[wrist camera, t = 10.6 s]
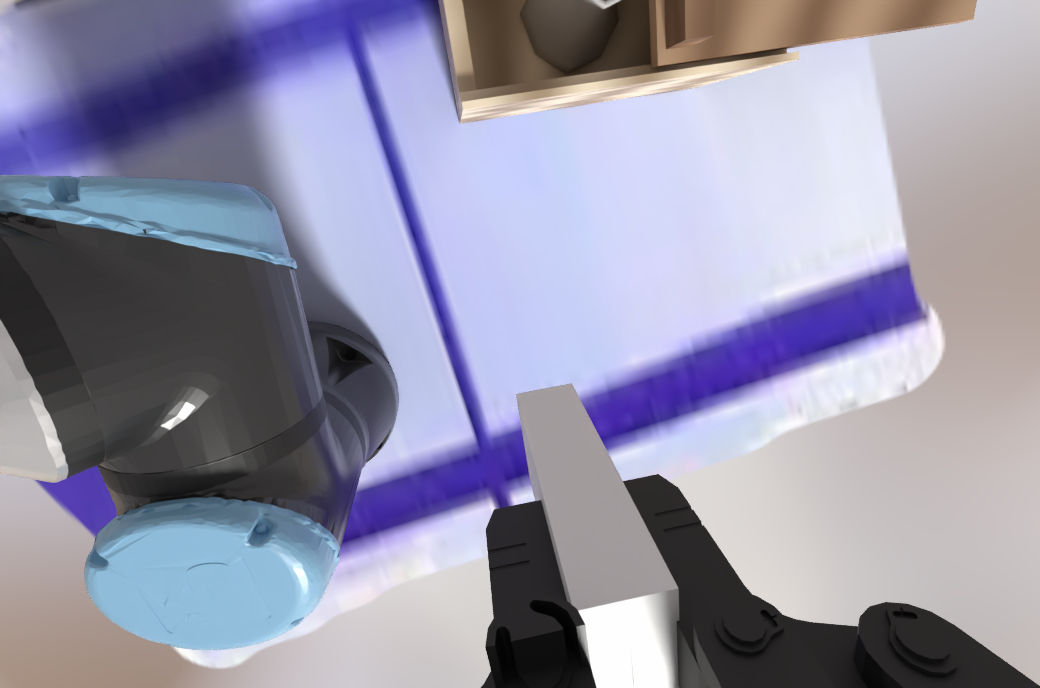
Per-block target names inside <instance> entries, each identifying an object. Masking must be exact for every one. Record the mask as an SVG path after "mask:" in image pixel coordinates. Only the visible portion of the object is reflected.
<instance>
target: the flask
mask: <svg viewBox="0 0 1040 688" xmlns="http://www.w3.org/2000/svg"><path fill="white" fill-rule="evenodd" d="M619 1H621V0H526V1H525V4H524V6H523V8H522V10H521V12H520V16H521V18H522V21H523V23H524V26H525V29H526V31H527V34H528V36H529V39H530V41H531V44H532V47H533V49H534V52H535V54H536V55H538V56H539V57H541V58H542V59H544V60H545V61H547V62H548V63H550V64H551V65H553V66H555V67H556V68H558V69H559V70H561V71H562V72H564V73H565V74H569V73H571V72H573V71H575V70H577V69H579V68H581V67H583V66H585V65H587V64H588V63H590V62H592V61H594V60H596V59H598V58H600V56H601V54H602V52H603V51H604V49H605V47H606V45H607V43H608V41H609V39H610V37H611V35H612V33H613V31H614V29H615V27H616V25H617V23H618V21H619V17H618V11H617V2H619Z"/></svg>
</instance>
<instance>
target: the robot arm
mask: <svg viewBox="0 0 1040 688" xmlns="http://www.w3.org/2000/svg"><path fill="white" fill-rule="evenodd" d="M294 269H297V264H296V261H295V260H294V259H293V258H291V257H290V253H289V250H288V247H287V243H286V240H285V236H284V233H283V229H282V226H281V223H280V219H279V216H278V213H277V211H276V209H275V207H274V205H273V204H272V202H271V201H270V200H269V199H268V198H267V197H266V196H265V195H264V194H262V193H261V192H259V191H258V190H256V189H254V188H252V187H249V186H246V185H242V184H236V183H226V182H216V181H201V180H184V179H163V178H137V177H100V176H83V177H71V176H38V175H0V474H6V475H12V476H18V477H23V478H29V479H35V480H41V481H46V482H52V483H54V482H59V481H61V480H64V479H66V478H69V477H71V476H73V475H76V474H78V473H80V472H82V471H85V470H87V469H89V468H92V467H94V466H96V465H97V466H98V469H99V471H100V473H101V475H102V477H103V479H104V481H105V483H106V486H107V489H108V491H109V493H110V495H111V497H112V499H113V501H114V503H115V506H116V509H117V517H115V518H114V519H112V520H111V521H110V522H109V523H108V524H107V525H106V526H105V527H103V528H102V529H101V530H100V532H99V533H98V534H97V536H96V538H95V542H94V546H93V549H92V551H91V552H90V554H89V555H88V558H87V560H86V563H85V570H84V578H85V584H86V589H87V591H88V593H89V595H90V597H91V599H92V601H93V602H94V604H95V605H96V606H97V607H98V608H99V609H100V610H101V612H102V613H103V614H104V615H105V616H106V617H107V618H109V619H110V620H111V621H113V622H114V623H115V624H117V625H118V626H120V627H122V628H123V629H125V630H127V631H129V632H131V633H133V634H135V635H137V636H140V637H142V638H144V639H147V640H150V641H153V642H159V643H165V644H168V645H171V646H174V647H178V648H185V649H193V650H224V649H234V648H241V647H246V646H251V645H255V644H259V643H262V642H265V641H268V640H271V639H273V638H276V637H278V636H280V635H282V634H284V633H286V632H288V631H289V630H291V629H292V628H294V627H295V626H297V625H298V624H299V623H300V622H301V621H302V620H303V619H304V617H306V616H307V615H308V614H309V613H311V612H312V611H313V610H314V609H315V608H316V606H317V605H318V604H319V602H320V600H321V599H322V597H323V595H324V592H325V590H326V587H327V585H328V583H329V580H330V578H331V576H332V574H333V572H334V570H335V568H336V566H337V564H338V561H339V558H340V553H339V550H340V547H341V543H342V540H343V536H344V532H345V529H346V525H347V521H348V518H349V514H350V510H351V507H352V503H353V499H354V496H355V492H356V489H357V485H358V481H359V478H360V474H361V470H362V468H363V467H364V466H365V464H366V463H367V462H368V461H369V460H371V459H372V458H373V457H374V456H375V455H376V454H377V453H378V452H379V451H380V450H381V449H382V447H383V446H384V445H385V443H386V442H387V440H388V438H389V436H390V434H391V432H392V430H393V427H394V424H395V420H396V415H397V411H398V404H399V394H398V387H397V382H396V379H395V376H394V374H393V371H392V369H391V367H390V366H389V364H388V362H387V361H386V360H385V358H384V357H383V356H382V354H381V353H380V352H379V351H378V350H377V349H376V348H375V347H374V346H373V345H372V344H370V343H369V342H368V341H366V340H365V339H363V338H362V337H360V336H359V335H357V334H355V333H353V332H351V331H349V330H347V329H344V328H341V327H338V326H335V325H331V324H326V323H319V322H307V320H306V316H305V312H304V308H303V304H302V299H301V295H300V291H299V287H298V283H297V279H296V275H295V271H294ZM516 397H517V403H518V409H519V415H520V421H521V427H522V433H523V439H524V445H525V451H526V457H527V463H528V469H529V475H530V480H531V485H532V489H533V493H534V497H535V501H534V502H529V503H524V504H519V505H514V506H509V507H504V508H500V509H495V510H494V511H493V514H492V516H491V518H490V521H489V523H488V526H487V528H486V537H487V548H488V559H489V569H490V581H491V592H492V604H493V614H494V619H493V621H492V623H491V624H490V626H489V628H488V632H487V640H486V651H487V655H488V659H489V663H490V667H491V672H490V674H489V676H488V678H487V679H486V681H485V683H484V685H483V686H482V687H481V688H1040V686H1039V685H1037V684H1036V683H1035V682H1033V681H1032V680H1030V679H1029V678H1028V677H1026V676H1025V675H1023V674H1022V673H1021V672H1019V671H1018V670H1016V669H1015V668H1014V667H1012V666H1011V665H1009V664H1008V663H1007V662H1005V661H1004V660H1002V659H1001V658H1000V657H998V656H997V655H995V654H994V653H992V652H991V651H990V650H988V649H987V648H986V647H984V646H983V645H982V644H980V643H979V642H977V641H976V640H975V639H973V638H972V637H970V636H969V635H967V634H966V633H965V632H963V631H962V630H960V629H959V628H958V627H956V626H955V625H953V624H951V623H950V622H948V621H946V620H944V619H943V618H941V617H939V616H937V615H936V614H934V613H932V612H930V611H927V610H924V609H921V608H918V607H915V606H912V605H909V604H903V603H889V602H885V603H881V604H877V605H874V606H870V607H869V608H868V609H867V610H866V611H865V612H864V613H863V614H862V615H861V616H860V619H859V624H858V627H857V626H846V625H835V624H824V623H813V622H807V621H801V620H796V619H793V618H790V617H787V616H784V615H782V614H781V613H780V612H779V611H778V610H777V609H776V608H775V607H774V606H773V605H771V604H769V603H768V602H766V601H764V600H762V599H761V598H759V597H757V596H755V595H752V594H751V593H750V591H749V590H748V589H747V588H746V587H745V586H744V584H743V583H742V581H741V580H740V579H739V577H738V575H737V574H736V573H735V571H734V569H733V568H732V566H731V565H730V563H729V562H728V561H727V559H726V558H725V556H724V555H723V553H722V552H721V550H720V549H719V547H718V546H717V544H716V543H715V541H714V540H713V538H712V537H711V535H710V534H709V532H708V531H707V529H706V528H705V527H704V526H702V524H701V521H700V519H699V518H698V516H697V515H696V513H695V512H694V510H692V509H691V506H690V505H689V503H688V501H687V500H686V499H685V497H684V496H683V494H682V493H681V491H680V490H679V489H678V487H676V486H675V485H673V484H672V483H670V482H669V481H668V480H666V479H665V478H663V477H662V476H660V475H659V474H657V475H652V476H647V477H642V478H637V479H633V480H628V481H622V479H621V477H620V475H619V473H618V471H617V469H616V468H615V466H614V464H613V462H612V460H611V458H610V456H609V454H608V452H607V450H606V448H605V446H604V445H603V443H602V441H601V439H600V437H599V435H598V433H597V431H596V429H595V427H594V425H593V423H592V422H591V420H590V418H589V416H588V414H587V412H586V410H585V408H584V406H583V404H582V402H581V400H580V398H579V397H578V395H577V393H576V391H575V389H574V387H573V385H572V383H571V384H566V385H561V386H556V387H550V388H545V389H540V390H535V391H529V392H524V393H519V394H516Z"/></svg>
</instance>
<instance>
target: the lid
mask: <svg viewBox="0 0 1040 688" xmlns="http://www.w3.org/2000/svg"><path fill="white" fill-rule="evenodd" d="M976 2H977V0H649V18H650V45H651V69H652V68H658V67H665V66H672V65H679V64H685V63H692V62H699V61H706V60H712V59H719V58H726V57H733V56H739V55H746V54H753V53H760V52H766V51H773V50H780V49H787V48H793V47H800V46H807V45H814V44H820V43H827V42H834V41H840V40H847V39H854V38H861V37H867V36H874V35H880V34H888V33H894V32H901V31H908V30H914V29H921V28H927V27H934V26H942V25H948V24H955V23H960V22H964V21H968V20H971V19H973V18H974V12H975V8H976Z"/></svg>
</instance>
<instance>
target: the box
mask: <svg viewBox="0 0 1040 688" xmlns="http://www.w3.org/2000/svg"><path fill="white" fill-rule="evenodd" d="M525 1H526V0H438V2H439V8H440V14H441V19H442V25H443V31H444V37H445V42H446V48H447V54H448V59H449V65H450V71H451V77H452V82H453V88H454V94H455V100H456V105H457V111H458V117H459V123H467V122H473V121H480V120H487V119H493V118H500V117H506V116H513V115H520V114H526V113H533V112H539V111H546V110H552V109H559V108H566V107H572V106H579V105H585V104H592V103H599V102H605V101H612V100H618V99H625V98H631V97H638V96H645V95H651V94H658V93H664V92H671V91H677V90H684V89H691V88H696V87H700V86H704V85H707V84H711V83H715V82H718V81H722V80H725V79H729V78H733V77H736V76H740V75H744V74H747V73H751V72H755V71H758V70H762V69H765V68H769V67H773V66H776V65H780V64H784V63H787V62H791V61H795V60H798V59H799V52H793V53H787V49H780V50H773V51H766V52H760V53H753V54H746V55H739V56H733V57H726V58H719V59H712V60H706V61H699V62H692V63H685V64H679V65H672V66H665V67H658V68H652V69H651V45H650V18H649V0H621V1H619V2H617V11H618V17H619V21H618V23H617V25H616V27H615V29H614V31H613V33H612V35H611V37H610V39H609V41H608V43H607V45H606V47H605V49H604V51H603V52H602V54H601V56H600V58H598V59H596V60H594V61H592V62H590V63H588V64H587V65H585V66H583V67H581V68H579V69H577V70H575V71H573V72H571V73H569V74H565V73H564V72H562V71H561V70H559V69H558V68H556V67H555V66H553V65H551V64H550V63H548V62H547V61H545V60H544V59H542V58H541V57H539V56H538V55H536V54H535V52H534V49H533V47H532V44H531V41H530V39H529V36H528V34H527V31H526V29H525V26H524V23H523V21H522V18H521V16H520V12H521V10H522V8H523V6H524V4H525Z"/></svg>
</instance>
